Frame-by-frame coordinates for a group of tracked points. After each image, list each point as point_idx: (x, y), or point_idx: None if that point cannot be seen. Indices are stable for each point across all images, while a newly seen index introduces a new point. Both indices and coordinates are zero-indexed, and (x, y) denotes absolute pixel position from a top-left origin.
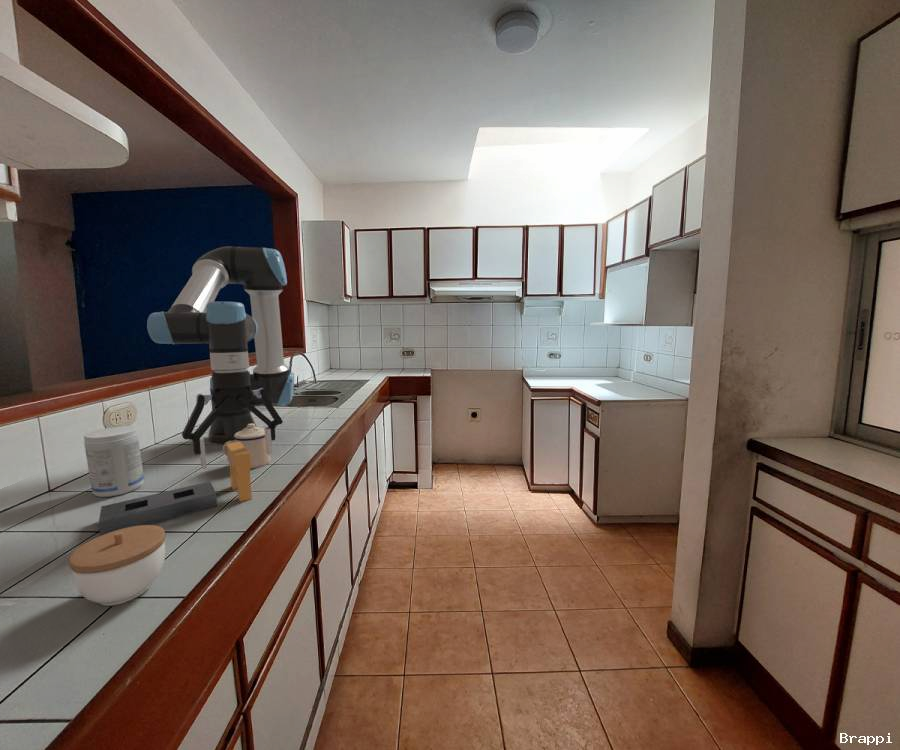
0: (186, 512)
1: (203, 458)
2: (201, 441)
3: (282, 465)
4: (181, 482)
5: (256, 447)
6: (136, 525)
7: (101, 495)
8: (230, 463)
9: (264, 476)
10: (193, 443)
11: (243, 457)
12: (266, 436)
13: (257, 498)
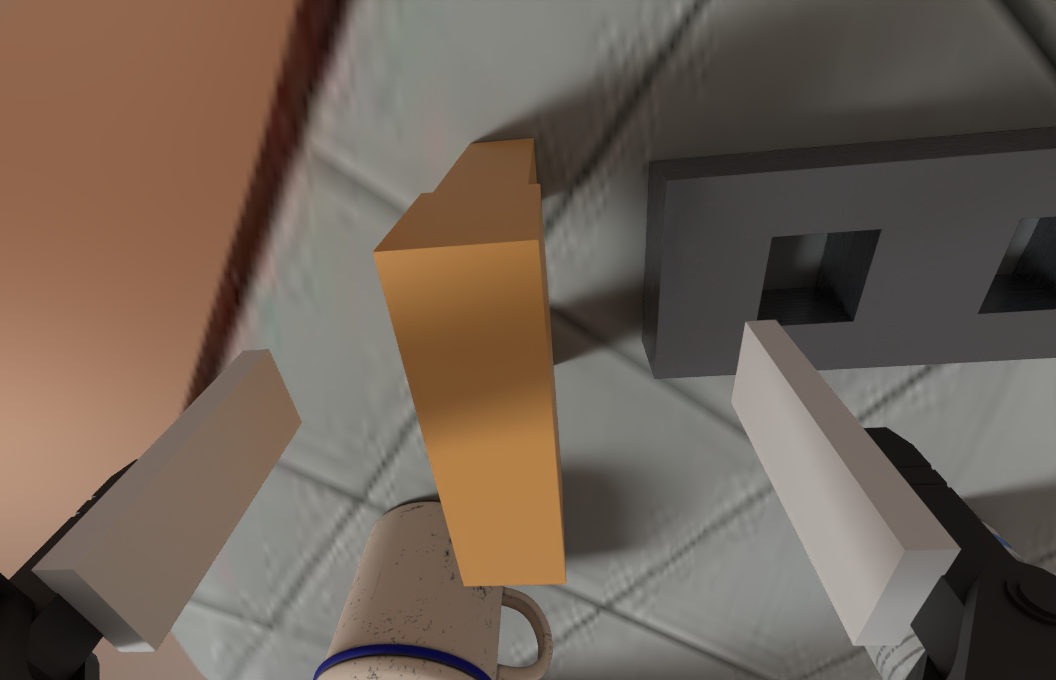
0: (806, 149)
1: (805, 374)
2: (930, 535)
3: (317, 470)
4: (719, 509)
5: (399, 594)
6: (1049, 128)
7: (988, 525)
8: (555, 394)
9: (398, 397)
10: (994, 543)
11: (451, 232)
12: (182, 511)
13: (439, 127)
